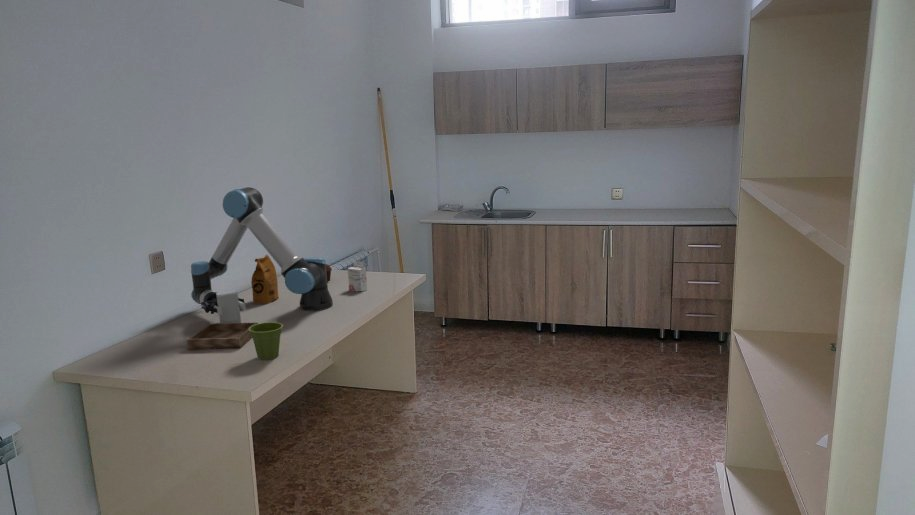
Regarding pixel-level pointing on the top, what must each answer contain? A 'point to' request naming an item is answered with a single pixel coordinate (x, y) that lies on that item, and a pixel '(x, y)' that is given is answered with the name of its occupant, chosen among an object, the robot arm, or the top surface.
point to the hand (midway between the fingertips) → (232, 309)
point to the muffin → (328, 272)
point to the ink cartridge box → (357, 277)
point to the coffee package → (264, 281)
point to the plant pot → (266, 339)
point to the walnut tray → (221, 336)
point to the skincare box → (229, 307)
